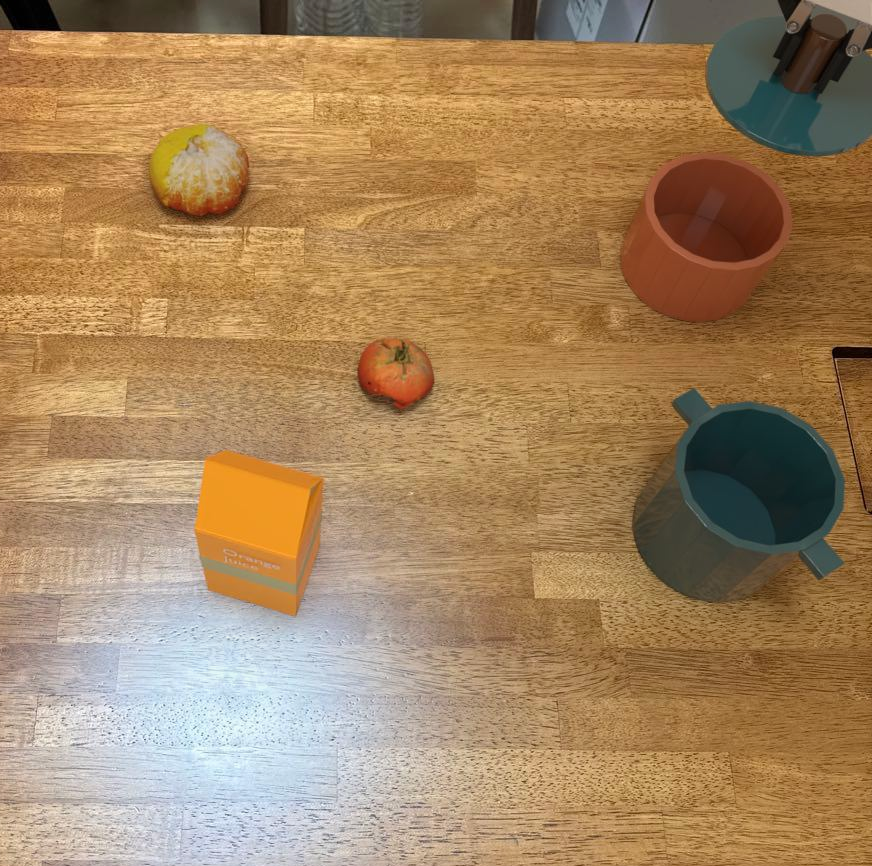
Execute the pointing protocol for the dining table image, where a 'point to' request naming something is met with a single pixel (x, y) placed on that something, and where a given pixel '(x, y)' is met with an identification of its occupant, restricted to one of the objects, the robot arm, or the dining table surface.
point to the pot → (739, 501)
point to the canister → (704, 236)
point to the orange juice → (258, 529)
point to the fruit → (199, 170)
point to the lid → (791, 88)
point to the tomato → (396, 371)
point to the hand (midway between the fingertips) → (802, 72)
